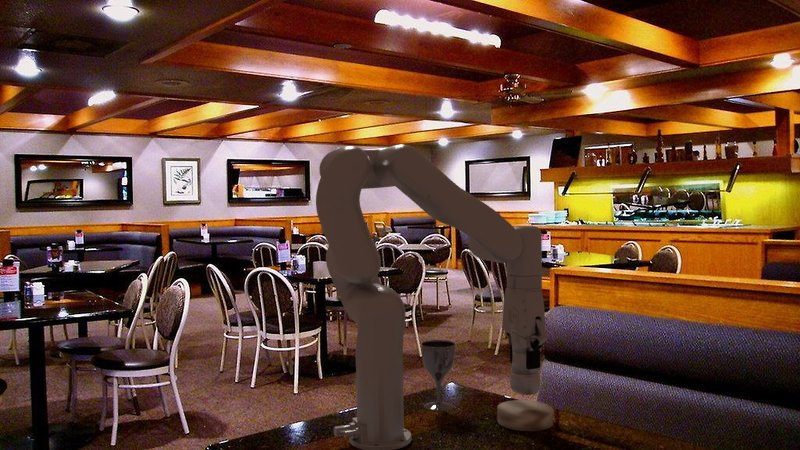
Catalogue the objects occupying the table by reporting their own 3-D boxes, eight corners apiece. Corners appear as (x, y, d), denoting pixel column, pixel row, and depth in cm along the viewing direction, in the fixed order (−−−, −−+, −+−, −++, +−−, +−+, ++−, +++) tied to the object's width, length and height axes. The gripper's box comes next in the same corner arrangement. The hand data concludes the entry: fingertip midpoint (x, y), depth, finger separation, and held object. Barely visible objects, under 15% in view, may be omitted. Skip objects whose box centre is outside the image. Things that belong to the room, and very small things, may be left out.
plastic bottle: (532, 400, 142) (532, 306, 141) (504, 394, 146) (504, 303, 145) (545, 393, 147) (546, 302, 146) (517, 387, 151) (518, 299, 150)
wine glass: (415, 407, 157) (414, 344, 157) (434, 399, 164) (433, 338, 163) (443, 413, 152) (442, 348, 152) (462, 405, 159) (461, 342, 158)
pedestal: (517, 434, 139) (517, 420, 138) (487, 417, 150) (487, 404, 149) (564, 426, 143) (564, 412, 143) (532, 410, 154) (531, 397, 154)
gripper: (488, 279, 152) (489, 359, 152) (533, 288, 136) (533, 376, 137) (516, 277, 155) (517, 355, 155) (563, 286, 139) (563, 372, 140)
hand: (524, 364), depth 146 cm, fingers closed on plastic bottle, 5 cm apart
